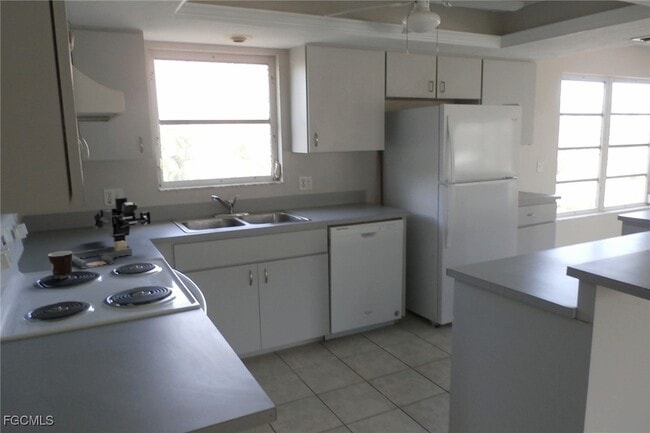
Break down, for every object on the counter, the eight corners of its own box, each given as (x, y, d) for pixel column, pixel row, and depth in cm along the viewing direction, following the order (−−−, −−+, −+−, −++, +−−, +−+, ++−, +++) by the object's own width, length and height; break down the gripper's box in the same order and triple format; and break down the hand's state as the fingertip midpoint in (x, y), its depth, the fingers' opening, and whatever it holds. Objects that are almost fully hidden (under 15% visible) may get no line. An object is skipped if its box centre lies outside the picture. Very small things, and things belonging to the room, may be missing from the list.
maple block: (114, 254, 232) (113, 242, 231) (124, 252, 235) (123, 240, 234) (118, 255, 229) (117, 243, 228) (127, 253, 232) (126, 241, 231)
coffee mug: (53, 275, 196) (50, 252, 195) (76, 273, 199) (73, 250, 198) (47, 283, 186) (44, 258, 184) (72, 280, 189) (69, 256, 187)
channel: (68, 260, 221) (67, 254, 221) (122, 250, 239) (121, 244, 238) (84, 269, 206) (83, 262, 205) (140, 258, 223) (140, 251, 222)
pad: (83, 264, 212) (83, 264, 212) (102, 261, 218) (102, 260, 218) (89, 267, 207) (88, 266, 207) (107, 264, 213) (107, 263, 213)
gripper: (104, 204, 228) (116, 207, 217) (142, 200, 241) (155, 203, 230) (106, 227, 230) (118, 231, 219) (143, 221, 243) (157, 225, 232)
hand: (137, 222), depth 225 cm, fingers open, 9 cm apart
